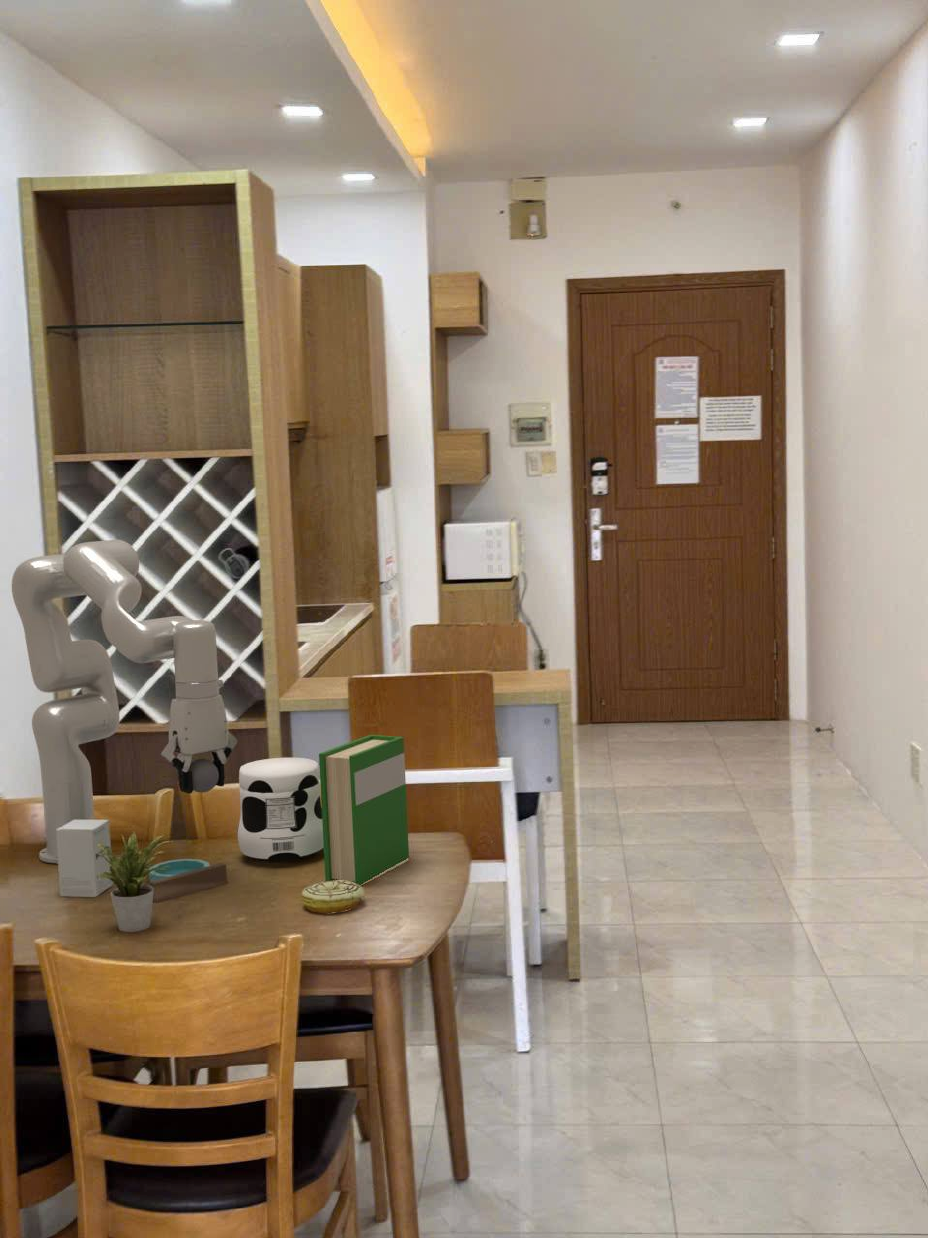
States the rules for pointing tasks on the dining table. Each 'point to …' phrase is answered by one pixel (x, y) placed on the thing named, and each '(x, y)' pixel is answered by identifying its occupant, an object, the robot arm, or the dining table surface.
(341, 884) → the decorated donut
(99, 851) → the supplement box
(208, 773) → the charcoal ball
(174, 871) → the teal dish
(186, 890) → the brown wooden bar
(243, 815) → the milk container
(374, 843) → the hardback book
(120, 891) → the house plant
